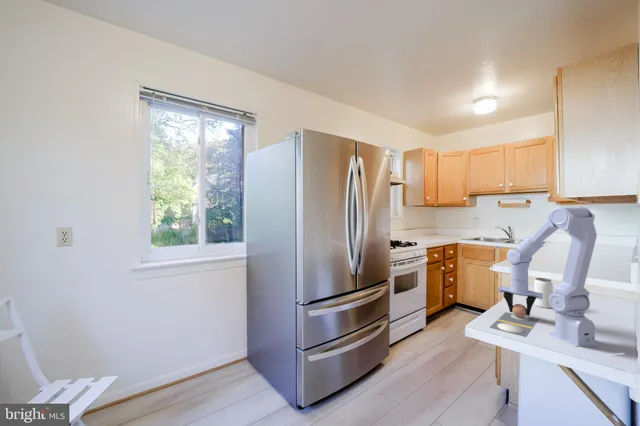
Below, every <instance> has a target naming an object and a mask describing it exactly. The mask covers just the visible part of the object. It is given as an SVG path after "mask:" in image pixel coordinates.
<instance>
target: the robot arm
mask: <svg viewBox="0 0 640 426" xmlns="http://www.w3.org/2000/svg"><path fill="white" fill-rule="evenodd" d="M595 218H596V215H594V213H593V212H592V211H591V210H590V209H588V208H587V207H584V206H578V207H576V206H575V207H574V206H573V207H571V206H570V207H564V206H557V207H555V208H554V209H552V211H551V212H550V213H549V214H547V219H546V220H545V221H544V222H543V223H542V224H541V226H540V227H539V228H538V229H537V230H536V231H535V233H534V234H533V235H527V236H524V238H523V240H522V241H521V242H520V243H519V244H518V245H516V247H515V248H510V249H508V251H507V253H506V259H507V261H508V262H509V263H510V287H506V286H498V287H497V293H503V295H502V296H503V298H504V299H505V301H506V304H507V306H508V310H509V313H513V312H512V307H513V306H514V295H517V296H521V297H522V296H523V297H526V298H525V302H526V309H527V315H526V317H529V316H531V312H532V311H531V310H532V309H533V305H534V304H535V303H534V302H535V300H536V298H539V299H543V293H538V292H534V290H529V267H530V264H531V262H532V260H533V256H534V255H535V254H536V253H537V252H538V251H539V250H540V249H541V248H542V247H543V246H544V245H543V242H544V241H545V240H547V239H548V238H549V237H551V235H553V233H555V232H557V231H558V230H562V231H564V232H565V233H567V234H568V235H569V236H570V238H571V240H570V245H569V250H568V254H567V258H566V262H565V265H564V271H563V275H562V279H561V282H560V283H559V284H558V285H556V286H555V287H554V288H553V289H554V290H553V293H552V294H551V295H550V297H549V303H550V305H551V307H552V308H551V309H553V312H554V316H555V317H554V319H555V320H554V322H555V323H554V327H555V328H554V329H555V330H554V331H555V332H554V331H553V332H548V335H550V336H552V337H554V338H557V339H558V340H560V341H562V342H565V343H567V344H569V345H571V346H573V347H589V346H591V347H592V346H598V343H596V328H595V324H594V322H593V321H592V320H591V319H589V318H588V317H586V316H585V314H586V311H587V310H588V309H590V306H591V302H590V298H589V297H590V292H589V290H588V289H587V288H585V284H586V281H587V280H586V279H587V276H588V272H589V268H590V265H591V261H592V260H591V259H592V257H593V252H594V248H595V244H596V241H597V231H596V227H595V224H594V222H595Z"/></svg>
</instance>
